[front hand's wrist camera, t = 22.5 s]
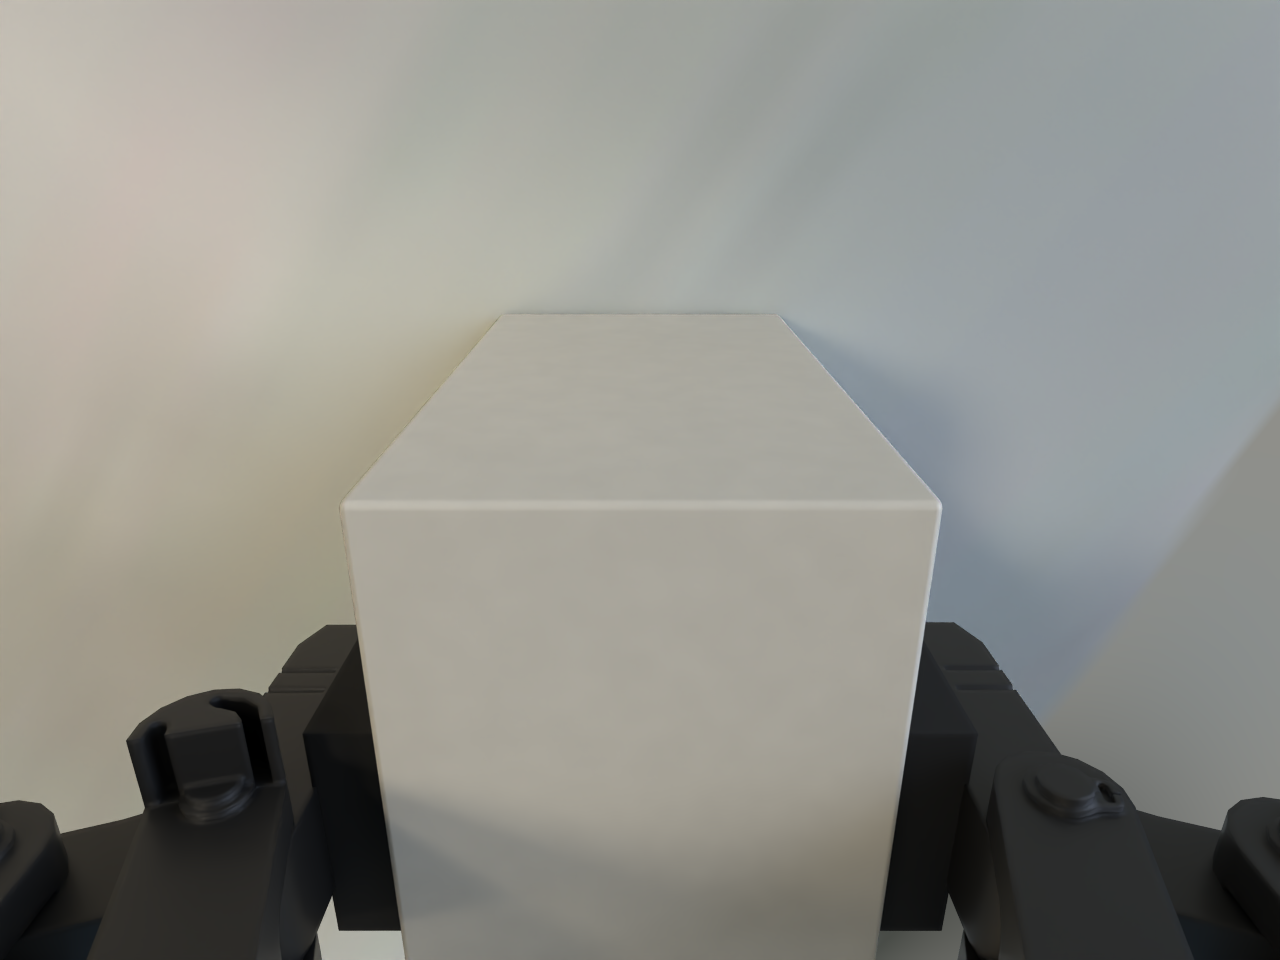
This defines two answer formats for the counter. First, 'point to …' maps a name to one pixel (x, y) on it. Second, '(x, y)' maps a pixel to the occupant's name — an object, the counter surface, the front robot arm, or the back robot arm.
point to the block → (640, 645)
